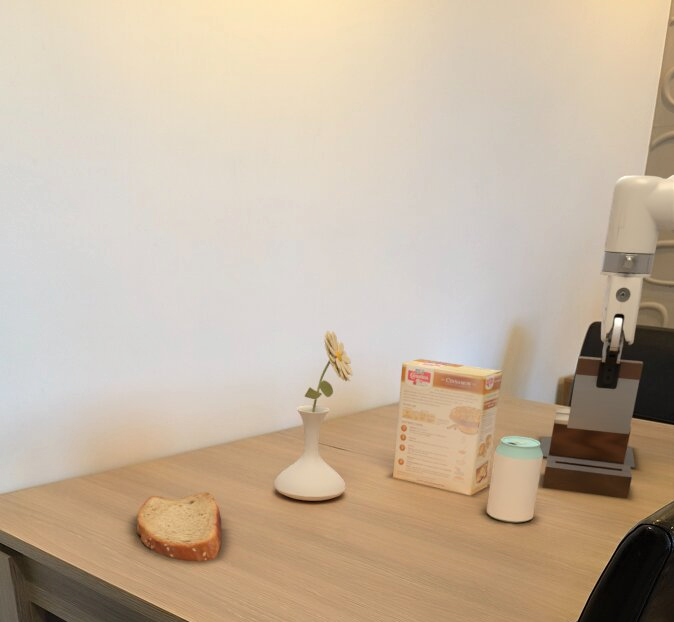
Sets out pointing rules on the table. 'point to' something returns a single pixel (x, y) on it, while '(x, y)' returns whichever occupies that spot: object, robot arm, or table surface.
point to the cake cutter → (604, 397)
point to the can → (515, 479)
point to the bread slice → (181, 527)
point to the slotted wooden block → (587, 477)
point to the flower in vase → (316, 439)
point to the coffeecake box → (446, 425)
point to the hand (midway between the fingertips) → (605, 385)
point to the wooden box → (586, 443)
